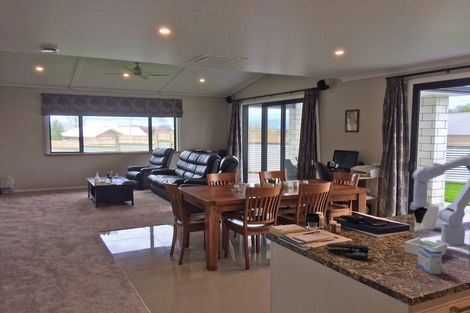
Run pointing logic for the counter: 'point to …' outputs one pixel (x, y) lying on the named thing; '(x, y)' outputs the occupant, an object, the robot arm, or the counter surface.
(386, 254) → the counter surface
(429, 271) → the medicine box
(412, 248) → the white open tray
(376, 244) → the counter surface
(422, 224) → the foam cup
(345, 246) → the can opener
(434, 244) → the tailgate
